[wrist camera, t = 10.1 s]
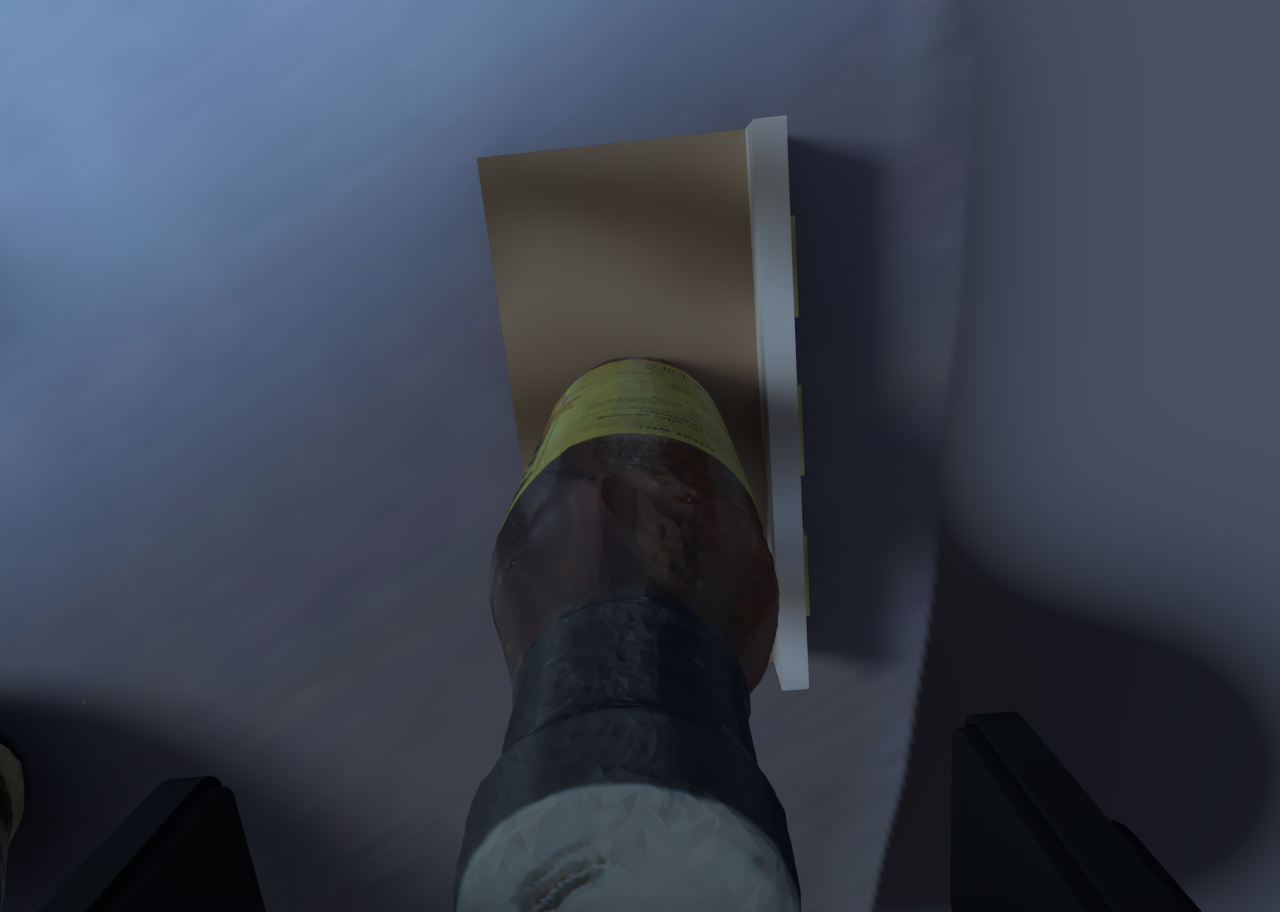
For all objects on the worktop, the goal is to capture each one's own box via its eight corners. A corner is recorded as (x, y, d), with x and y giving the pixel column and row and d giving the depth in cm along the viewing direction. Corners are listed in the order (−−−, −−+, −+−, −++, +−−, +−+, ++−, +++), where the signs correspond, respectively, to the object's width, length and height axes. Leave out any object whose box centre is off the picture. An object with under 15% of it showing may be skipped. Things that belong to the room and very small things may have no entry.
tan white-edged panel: (796, 640, 31) (814, 688, 28) (558, 658, 31) (547, 708, 28) (774, 131, 25) (793, 114, 22) (486, 162, 26) (461, 150, 23)
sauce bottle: (531, 376, 26) (218, 716, 7) (698, 329, 26) (825, 566, 7) (584, 538, 28) (441, 1152, 9) (742, 497, 28) (940, 1060, 9)
